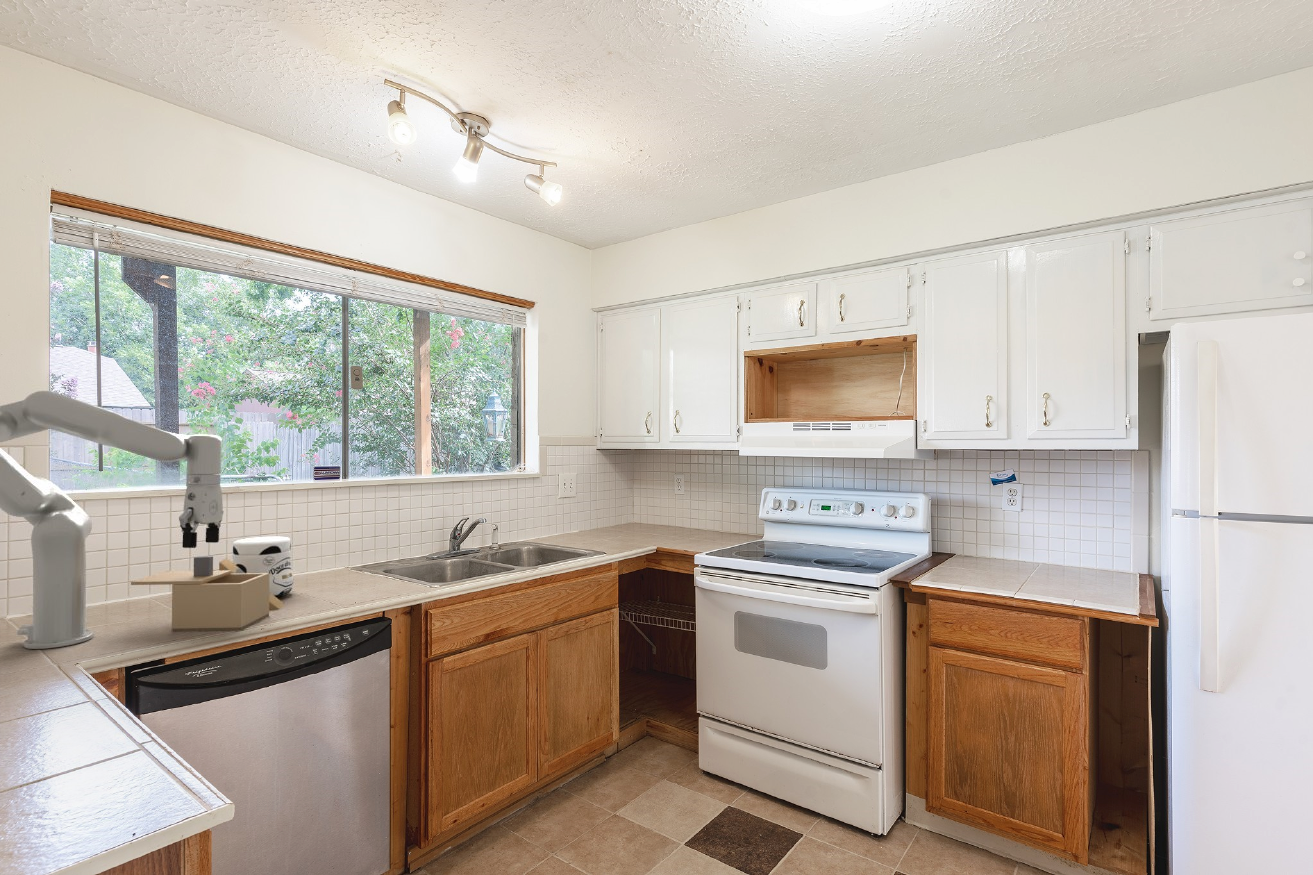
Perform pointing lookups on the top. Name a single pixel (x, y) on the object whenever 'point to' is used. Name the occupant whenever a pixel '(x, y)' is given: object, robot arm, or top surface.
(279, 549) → the milk container
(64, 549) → the robot arm
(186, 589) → the carton
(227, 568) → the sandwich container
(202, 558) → the carton lid
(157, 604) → the top surface
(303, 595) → the top surface
